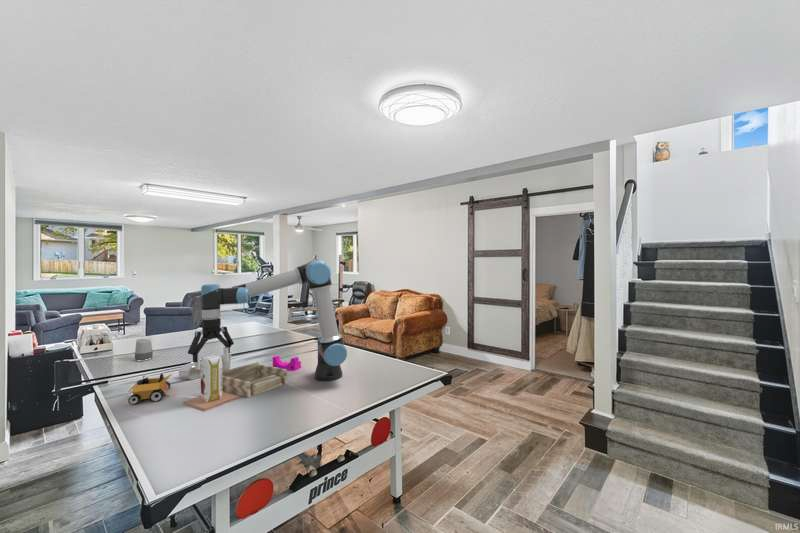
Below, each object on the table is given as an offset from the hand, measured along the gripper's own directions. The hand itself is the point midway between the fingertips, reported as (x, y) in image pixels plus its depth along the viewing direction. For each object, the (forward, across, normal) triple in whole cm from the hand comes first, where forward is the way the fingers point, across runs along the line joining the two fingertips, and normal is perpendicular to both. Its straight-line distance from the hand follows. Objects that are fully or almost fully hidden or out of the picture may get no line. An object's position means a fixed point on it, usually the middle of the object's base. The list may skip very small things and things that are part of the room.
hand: (212, 365), depth 156 cm
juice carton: (+15, 0, 0) cm, 15 cm away
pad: (+16, 0, 0) cm, 16 cm away
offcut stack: (+17, -22, +8) cm, 29 cm away
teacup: (+16, -26, -31) cm, 44 cm away
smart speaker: (+16, -20, -105) cm, 108 cm away
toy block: (+17, -51, -8) cm, 55 cm away
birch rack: (+17, -22, 0) cm, 27 cm away
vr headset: (+16, -15, -38) cm, 44 cm away
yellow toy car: (+16, +11, -30) cm, 36 cm away
